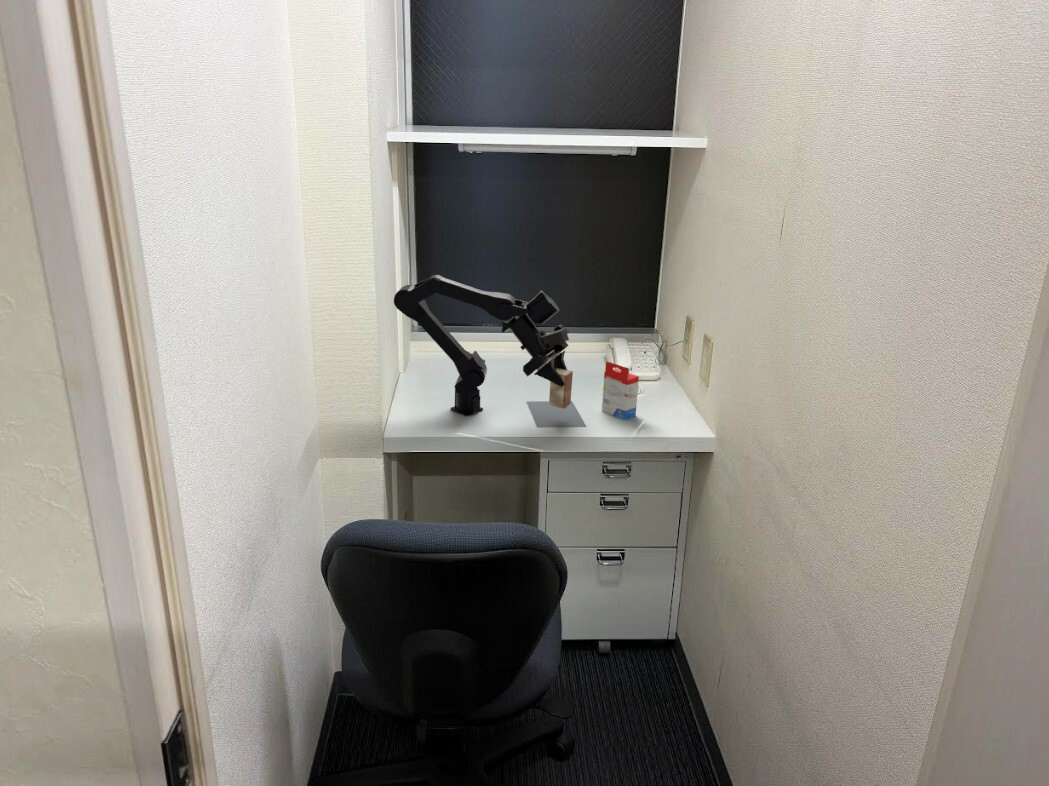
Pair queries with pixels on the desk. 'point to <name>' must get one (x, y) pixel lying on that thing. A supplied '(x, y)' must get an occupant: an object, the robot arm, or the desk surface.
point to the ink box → (619, 391)
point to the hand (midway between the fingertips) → (566, 383)
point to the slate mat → (554, 415)
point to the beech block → (561, 390)
